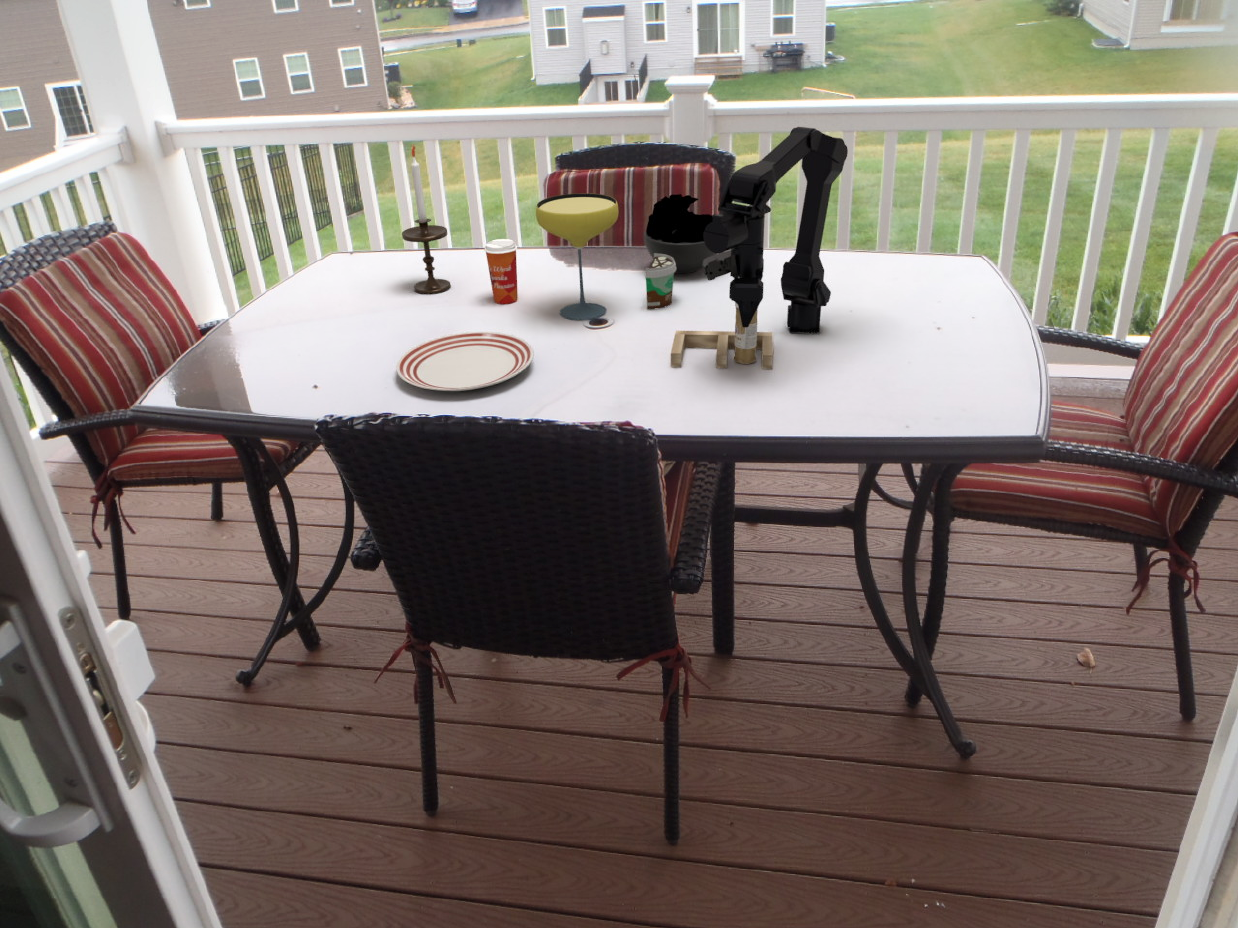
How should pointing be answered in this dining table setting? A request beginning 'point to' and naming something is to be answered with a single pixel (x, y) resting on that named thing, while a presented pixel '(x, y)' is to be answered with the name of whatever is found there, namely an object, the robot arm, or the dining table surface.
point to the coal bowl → (678, 233)
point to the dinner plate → (465, 361)
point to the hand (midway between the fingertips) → (745, 318)
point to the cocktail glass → (578, 234)
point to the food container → (660, 281)
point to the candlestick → (425, 237)
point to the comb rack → (718, 345)
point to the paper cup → (502, 270)
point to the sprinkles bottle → (745, 339)
